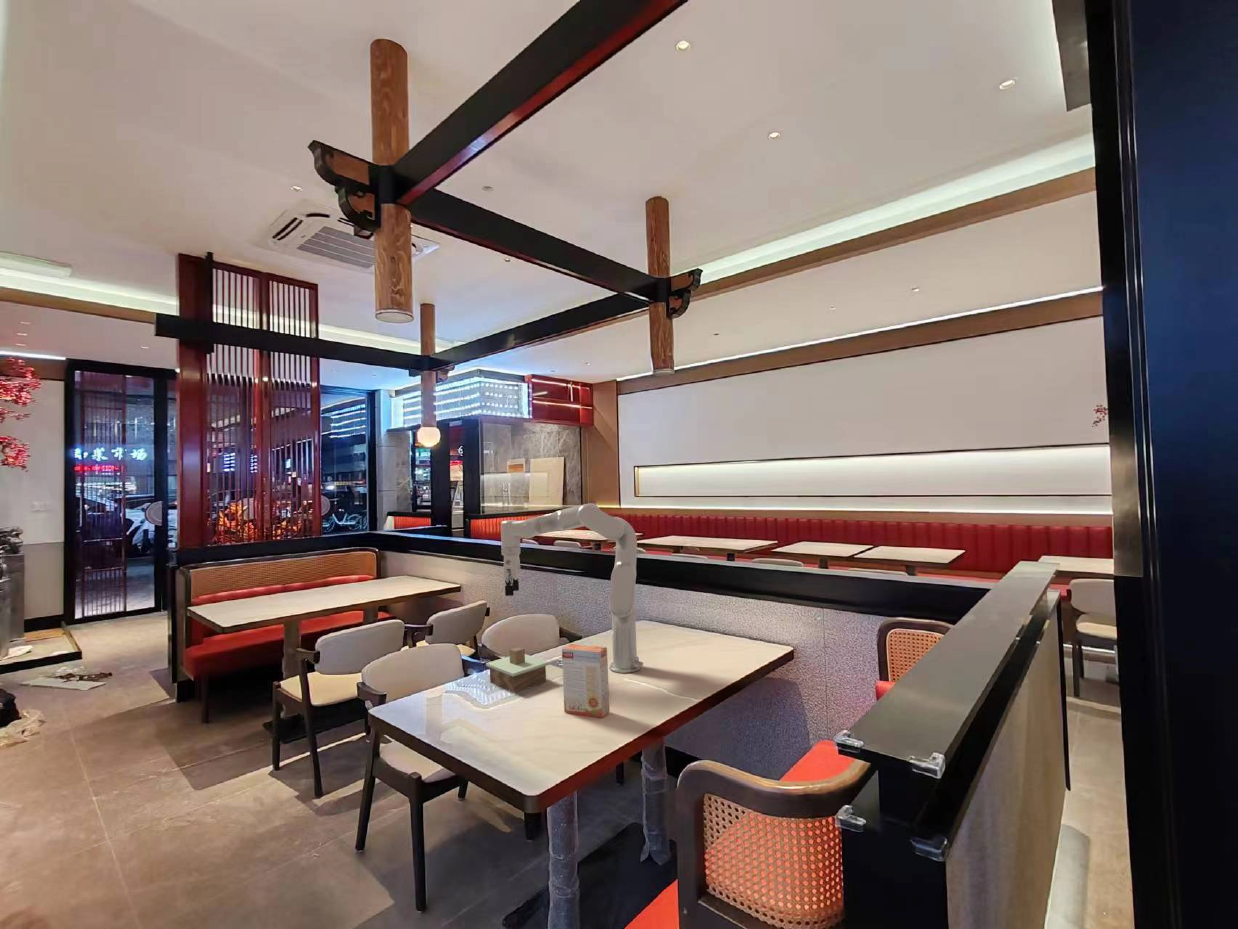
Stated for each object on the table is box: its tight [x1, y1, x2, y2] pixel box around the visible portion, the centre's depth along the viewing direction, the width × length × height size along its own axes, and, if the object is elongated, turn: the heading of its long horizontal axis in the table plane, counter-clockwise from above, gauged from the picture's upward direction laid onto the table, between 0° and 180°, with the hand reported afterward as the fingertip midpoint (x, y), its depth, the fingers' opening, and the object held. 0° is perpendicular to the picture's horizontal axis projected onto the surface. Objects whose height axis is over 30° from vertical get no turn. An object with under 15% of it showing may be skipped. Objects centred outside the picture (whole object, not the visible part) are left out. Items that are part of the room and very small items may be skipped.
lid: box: [485, 646, 550, 676], centre depth 207 cm, size 18×16×7 cm
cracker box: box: [561, 643, 611, 719], centre depth 180 cm, size 14×6×21 cm, turn 65°
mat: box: [548, 659, 563, 670], centre depth 221 cm, size 20×18×1 cm
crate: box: [489, 666, 547, 694], centre depth 207 cm, size 16×14×7 cm
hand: (512, 593), depth 224 cm, fingers open, 9 cm apart
